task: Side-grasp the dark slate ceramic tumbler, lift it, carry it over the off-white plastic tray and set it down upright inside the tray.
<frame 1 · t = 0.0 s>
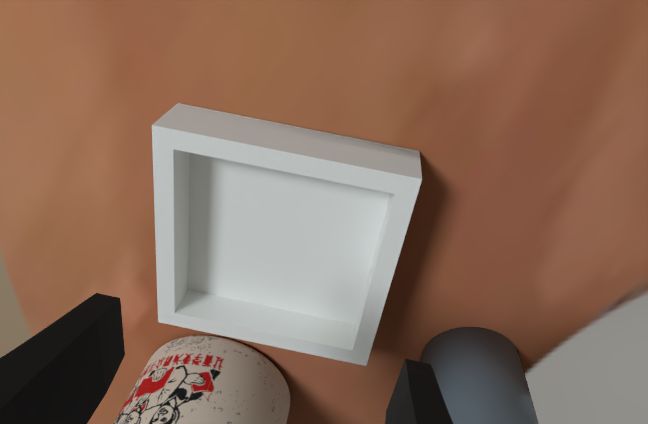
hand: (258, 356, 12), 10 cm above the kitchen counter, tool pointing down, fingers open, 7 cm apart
tumbler: (469, 362, 25), on the kitchen counter
tray: (284, 227, 22), on the kitchen counter
teacup with lid: (204, 390, 30), on the kitchen counter
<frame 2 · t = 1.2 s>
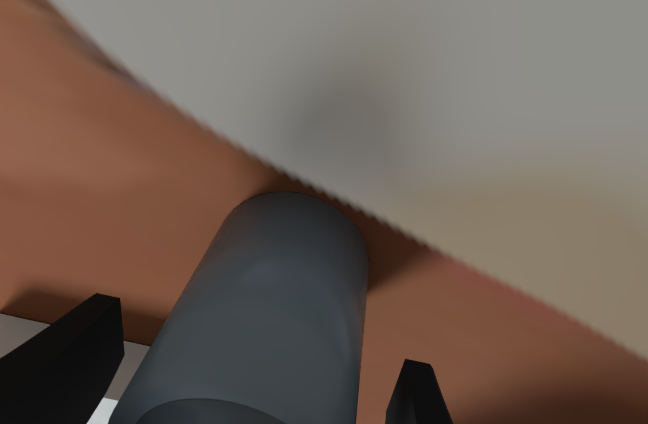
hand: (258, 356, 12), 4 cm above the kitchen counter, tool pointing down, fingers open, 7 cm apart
tumbler: (291, 259, 16), on the kitchen counter
tray: (128, 419, 21), on the kitchen counter
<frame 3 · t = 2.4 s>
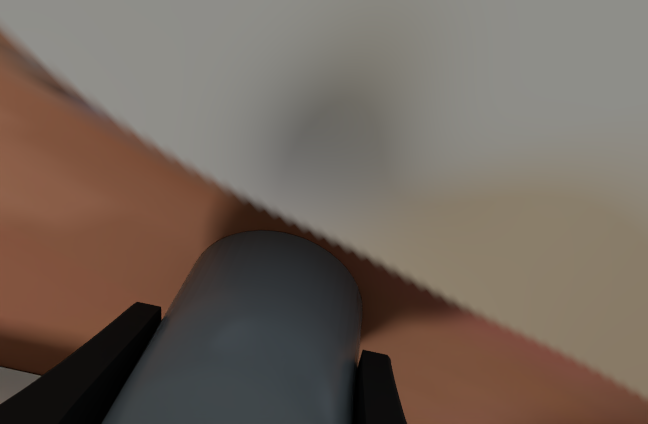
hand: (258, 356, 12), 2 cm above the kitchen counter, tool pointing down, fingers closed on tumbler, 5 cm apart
tumbler: (274, 304, 14), on the kitchen counter, touching gripper
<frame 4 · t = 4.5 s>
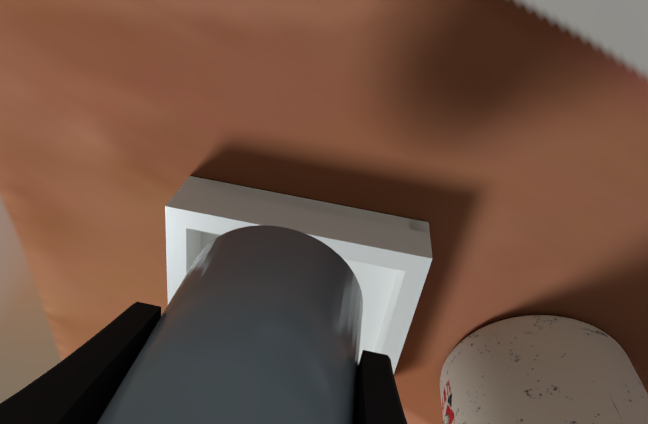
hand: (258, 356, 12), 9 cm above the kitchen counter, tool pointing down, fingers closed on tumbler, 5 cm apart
tumbler: (275, 300, 14), point 7 cm above the kitchen counter, touching gripper
tray: (294, 290, 23), on the kitchen counter
teacup with lid: (542, 391, 24), on the kitchen counter
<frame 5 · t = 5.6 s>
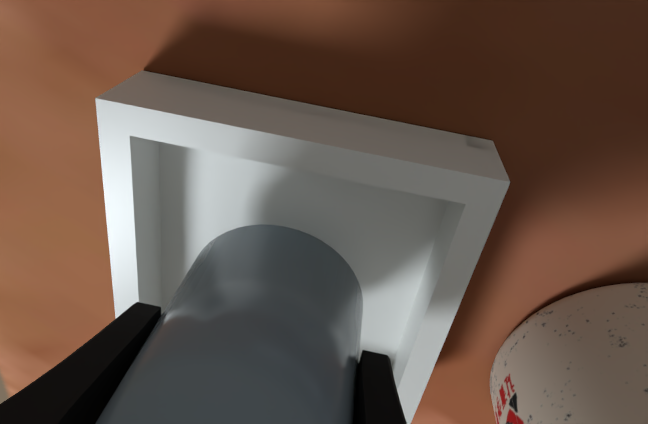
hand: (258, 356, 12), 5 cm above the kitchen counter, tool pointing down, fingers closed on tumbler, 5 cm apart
tumbler: (275, 299, 14), point 3 cm above the kitchen counter, touching gripper
tray: (293, 247, 16), on the kitchen counter
teacup with lid: (628, 392, 18), on the kitchen counter
when the fingers open (4 cm above the kitchen counter, at t = 6.6 s): tumbler drops 1 cm, resting on tray.
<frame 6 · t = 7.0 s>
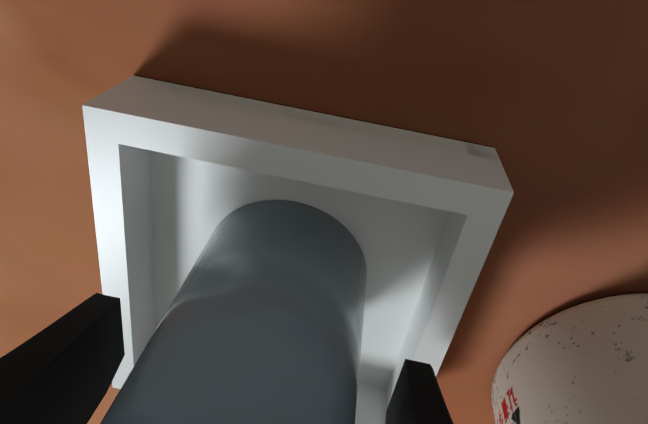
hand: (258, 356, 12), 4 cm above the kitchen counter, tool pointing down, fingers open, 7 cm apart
tumbler: (285, 270, 15), point 1 cm above the kitchen counter, touching tray
tray: (289, 257, 16), on the kitchen counter
teacup with lid: (633, 403, 18), on the kitchen counter
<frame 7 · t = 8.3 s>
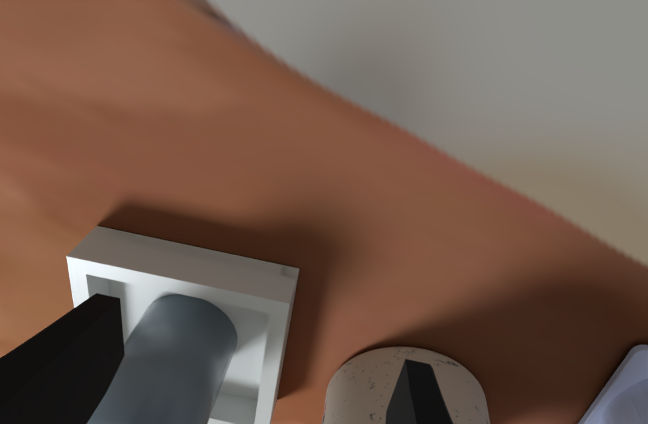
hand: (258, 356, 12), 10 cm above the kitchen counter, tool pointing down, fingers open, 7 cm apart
tumbler: (190, 331, 25), point 1 cm above the kitchen counter, touching tray
tray: (195, 321, 26), on the kitchen counter
teacup with lid: (417, 410, 28), on the kitchen counter
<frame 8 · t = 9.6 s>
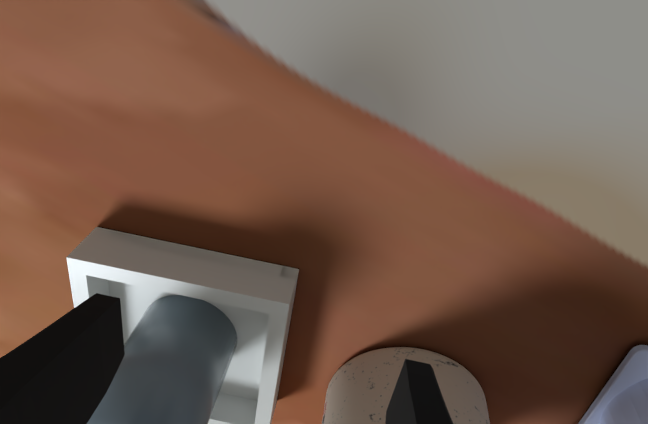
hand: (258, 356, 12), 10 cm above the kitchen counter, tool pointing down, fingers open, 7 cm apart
tumbler: (190, 332, 25), point 1 cm above the kitchen counter, touching tray
tray: (195, 322, 26), on the kitchen counter
teacup with lid: (417, 411, 28), on the kitchen counter
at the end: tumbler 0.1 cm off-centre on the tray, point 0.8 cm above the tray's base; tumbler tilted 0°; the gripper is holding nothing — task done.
